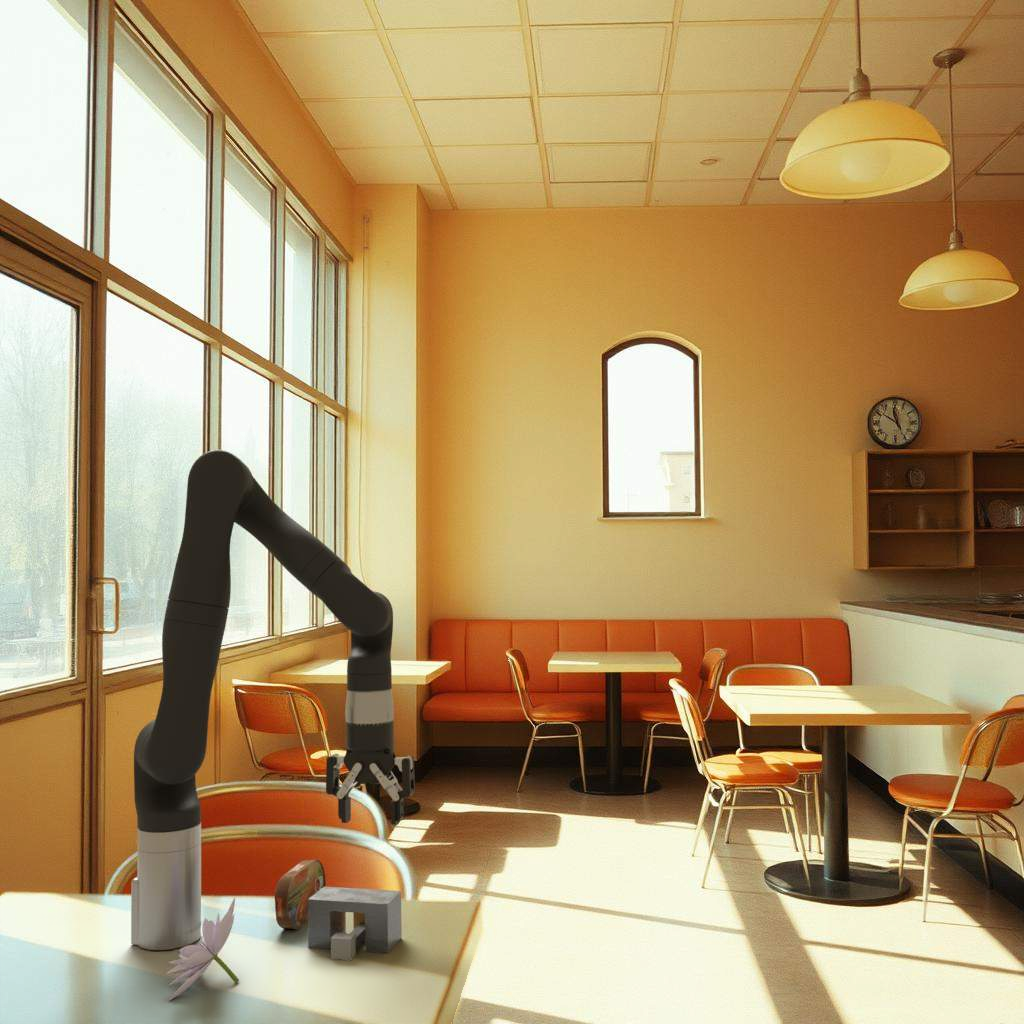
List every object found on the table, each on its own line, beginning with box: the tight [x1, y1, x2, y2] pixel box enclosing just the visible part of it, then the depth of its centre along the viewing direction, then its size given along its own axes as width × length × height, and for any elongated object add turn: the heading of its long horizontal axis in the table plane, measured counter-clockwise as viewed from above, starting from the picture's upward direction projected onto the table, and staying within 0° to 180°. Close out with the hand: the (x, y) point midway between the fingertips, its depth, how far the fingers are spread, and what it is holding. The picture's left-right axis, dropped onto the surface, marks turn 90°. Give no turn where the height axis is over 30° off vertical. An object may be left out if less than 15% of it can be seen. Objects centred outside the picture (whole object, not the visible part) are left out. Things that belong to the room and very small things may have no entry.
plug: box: [330, 912, 365, 961], centre depth 152 cm, size 4×16×4 cm, turn 169°
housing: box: [307, 886, 402, 954], centre depth 151 cm, size 12×6×7 cm, turn 77°
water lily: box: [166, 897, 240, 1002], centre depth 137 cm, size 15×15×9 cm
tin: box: [274, 859, 327, 930], centre depth 161 cm, size 15×3×8 cm, turn 168°
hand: (370, 822), depth 158 cm, fingers open, 8 cm apart
